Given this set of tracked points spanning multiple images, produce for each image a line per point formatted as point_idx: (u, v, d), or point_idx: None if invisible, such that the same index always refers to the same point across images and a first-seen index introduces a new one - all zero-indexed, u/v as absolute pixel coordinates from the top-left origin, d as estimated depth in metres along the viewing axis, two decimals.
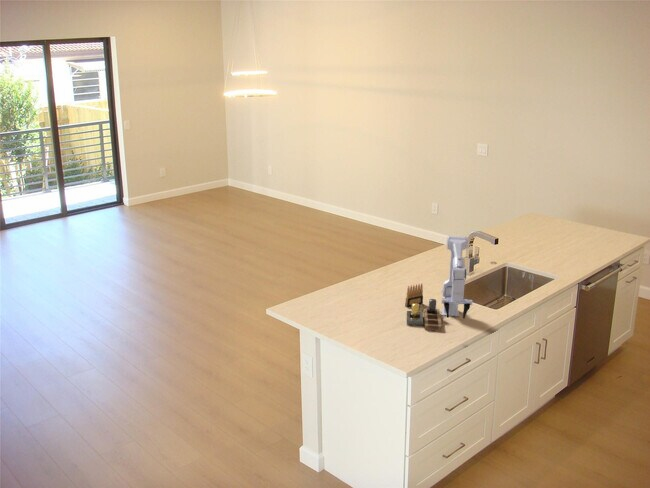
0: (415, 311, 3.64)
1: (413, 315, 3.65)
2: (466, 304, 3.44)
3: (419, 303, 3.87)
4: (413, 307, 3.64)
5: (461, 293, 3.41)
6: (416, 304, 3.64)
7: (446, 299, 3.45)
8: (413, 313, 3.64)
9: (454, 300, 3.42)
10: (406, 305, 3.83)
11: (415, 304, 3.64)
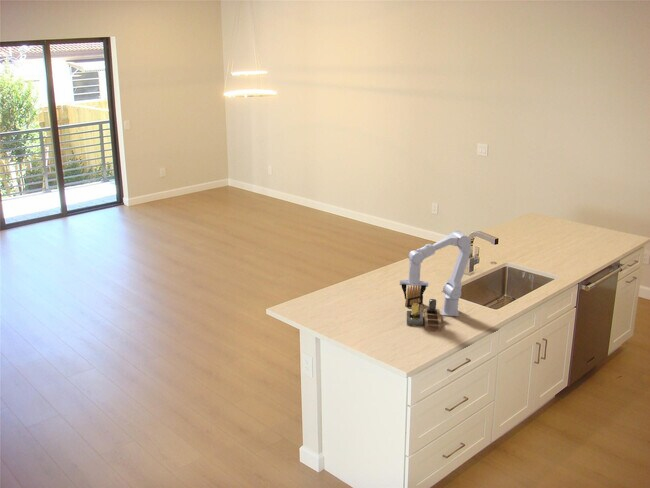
0: (415, 311, 3.64)
1: (413, 315, 3.65)
2: (422, 286, 3.64)
3: (419, 303, 3.87)
4: (413, 307, 3.64)
5: (417, 275, 3.61)
6: (416, 304, 3.64)
7: (403, 281, 3.65)
8: (413, 313, 3.64)
9: (411, 282, 3.63)
10: (406, 305, 3.83)
11: (415, 304, 3.64)
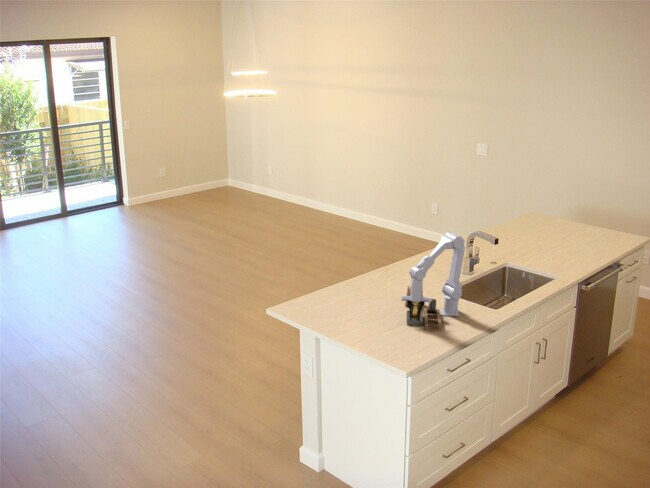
0: (415, 311, 3.64)
1: (413, 315, 3.65)
2: (424, 302, 3.63)
3: None
4: (413, 307, 3.64)
5: (419, 291, 3.60)
6: (416, 304, 3.64)
7: (405, 297, 3.64)
8: (413, 313, 3.64)
9: (413, 298, 3.61)
10: (406, 305, 3.83)
11: (415, 304, 3.64)
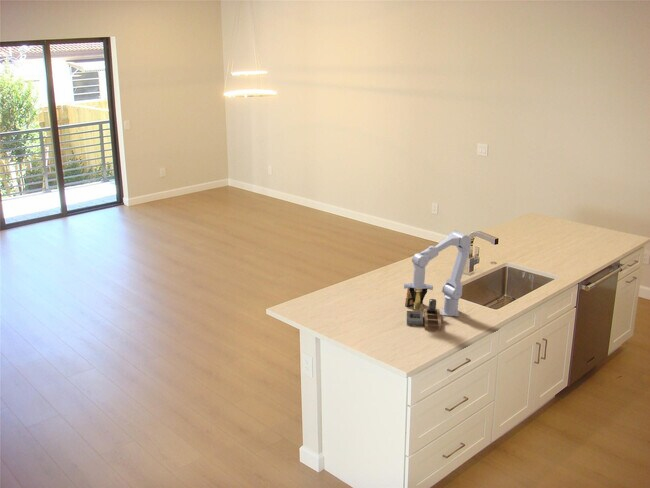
0: (418, 299, 3.62)
1: (416, 303, 3.63)
2: None
3: None
4: (416, 294, 3.61)
5: (422, 278, 3.57)
6: (419, 291, 3.62)
7: (408, 284, 3.61)
8: (416, 301, 3.62)
9: (415, 285, 3.59)
10: (406, 305, 3.83)
11: (418, 291, 3.62)
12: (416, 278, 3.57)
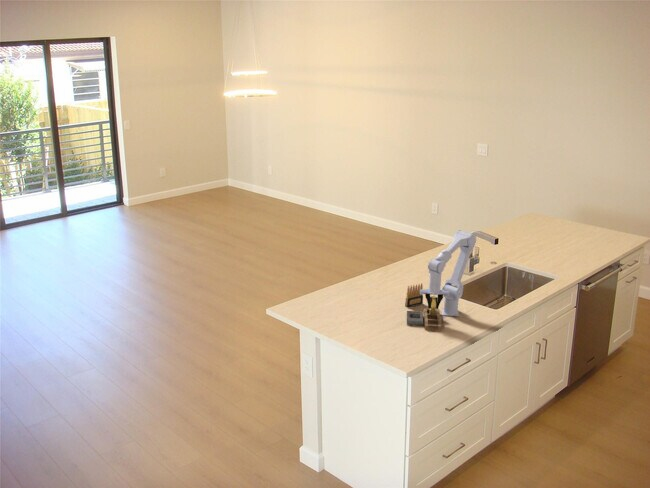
0: (433, 304, 3.62)
1: (431, 308, 3.63)
2: None
3: (419, 303, 3.87)
4: (431, 300, 3.61)
5: (438, 284, 3.57)
6: (434, 297, 3.62)
7: (424, 290, 3.61)
8: (431, 306, 3.62)
9: (431, 291, 3.59)
10: (406, 305, 3.83)
11: (433, 297, 3.62)
12: (432, 284, 3.57)
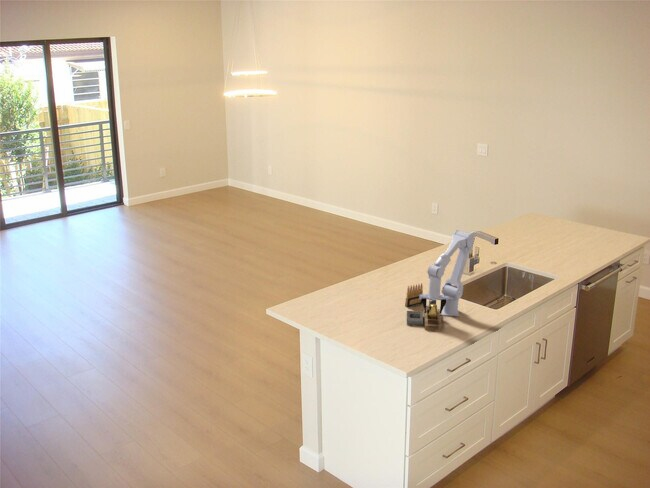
0: (433, 312, 3.63)
1: (431, 316, 3.64)
2: (442, 300, 3.61)
3: (419, 303, 3.87)
4: (431, 308, 3.63)
5: (438, 289, 3.58)
6: (434, 305, 3.63)
7: (423, 295, 3.62)
8: (431, 314, 3.64)
9: (431, 296, 3.60)
10: (406, 305, 3.83)
11: (433, 305, 3.63)
12: (432, 289, 3.58)
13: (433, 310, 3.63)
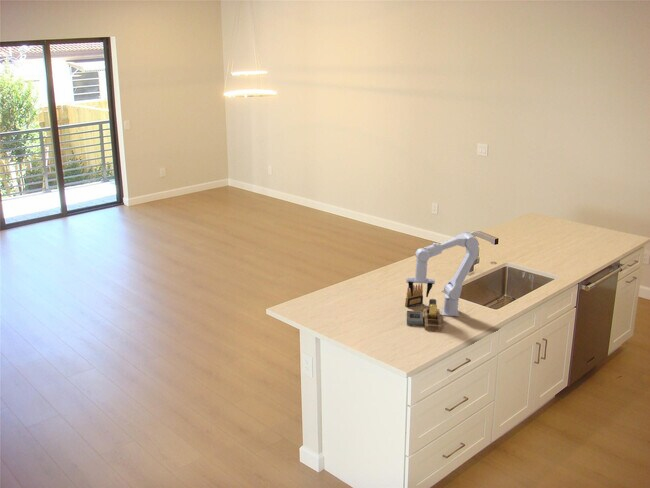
0: (433, 312, 3.63)
1: (431, 316, 3.64)
2: (429, 283, 3.68)
3: (419, 303, 3.87)
4: (431, 308, 3.63)
5: (424, 273, 3.65)
6: (434, 305, 3.63)
7: (410, 279, 3.69)
8: (431, 314, 3.64)
9: (417, 279, 3.66)
10: (406, 305, 3.83)
11: (433, 305, 3.63)
12: (418, 272, 3.65)
13: (433, 310, 3.63)
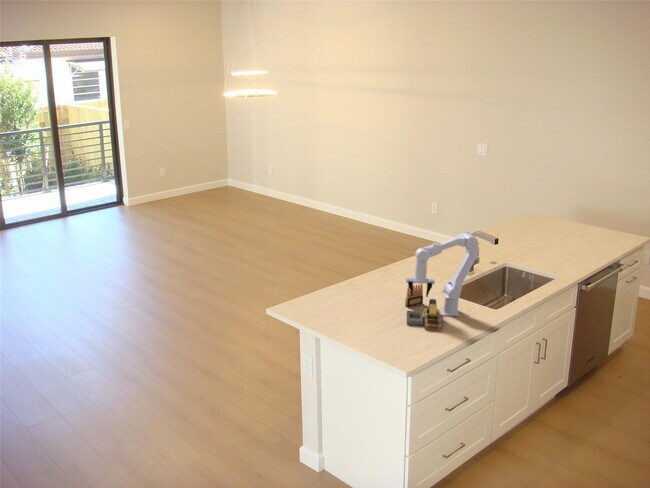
0: (433, 312, 3.63)
1: (431, 316, 3.64)
2: (429, 283, 3.68)
3: (419, 303, 3.87)
4: (431, 308, 3.63)
5: (424, 273, 3.65)
6: (434, 305, 3.63)
7: (410, 279, 3.69)
8: (431, 314, 3.64)
9: (417, 279, 3.66)
10: (406, 305, 3.83)
11: (433, 305, 3.63)
12: (418, 272, 3.65)
13: (433, 310, 3.63)
